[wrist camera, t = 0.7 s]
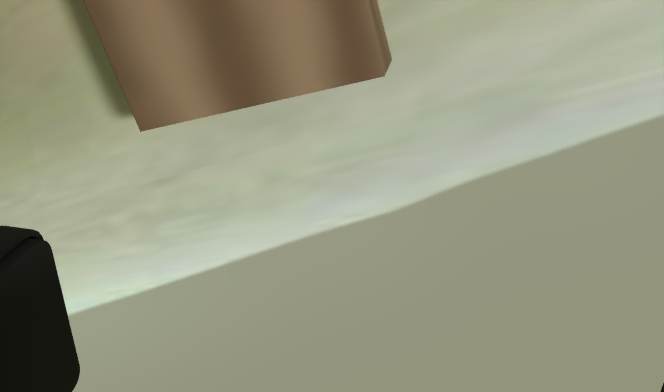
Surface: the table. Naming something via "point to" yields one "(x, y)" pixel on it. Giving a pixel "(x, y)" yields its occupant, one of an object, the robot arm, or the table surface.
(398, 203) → the table surface
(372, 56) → the block
